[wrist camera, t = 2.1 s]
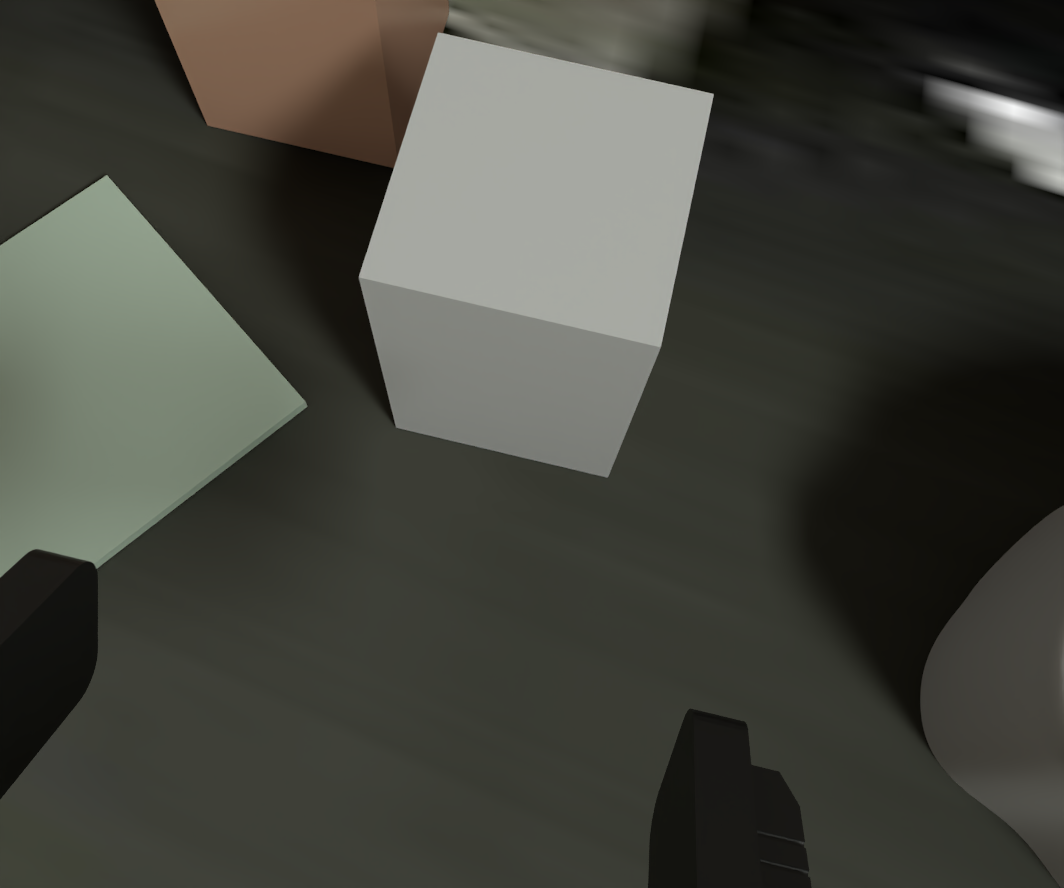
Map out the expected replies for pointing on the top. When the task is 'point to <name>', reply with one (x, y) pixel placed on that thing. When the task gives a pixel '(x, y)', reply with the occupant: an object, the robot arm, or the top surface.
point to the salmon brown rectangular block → (308, 68)
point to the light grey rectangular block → (530, 250)
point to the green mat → (116, 382)
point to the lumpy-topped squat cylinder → (1007, 692)
